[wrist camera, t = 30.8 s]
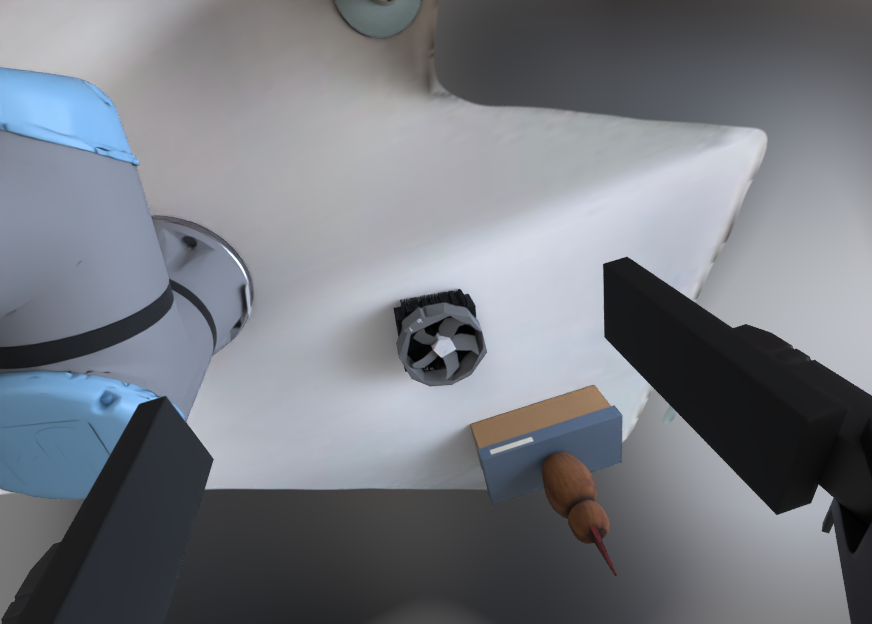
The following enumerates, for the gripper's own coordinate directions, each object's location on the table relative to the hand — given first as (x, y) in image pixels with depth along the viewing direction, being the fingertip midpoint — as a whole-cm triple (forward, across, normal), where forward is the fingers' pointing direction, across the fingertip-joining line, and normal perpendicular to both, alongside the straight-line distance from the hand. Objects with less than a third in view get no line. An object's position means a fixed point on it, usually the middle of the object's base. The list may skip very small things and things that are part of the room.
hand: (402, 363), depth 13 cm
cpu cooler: (+35, +3, -22) cm, 41 cm away
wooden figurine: (+28, +14, -45) cm, 55 cm away
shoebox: (+35, +14, -45) cm, 59 cm away
